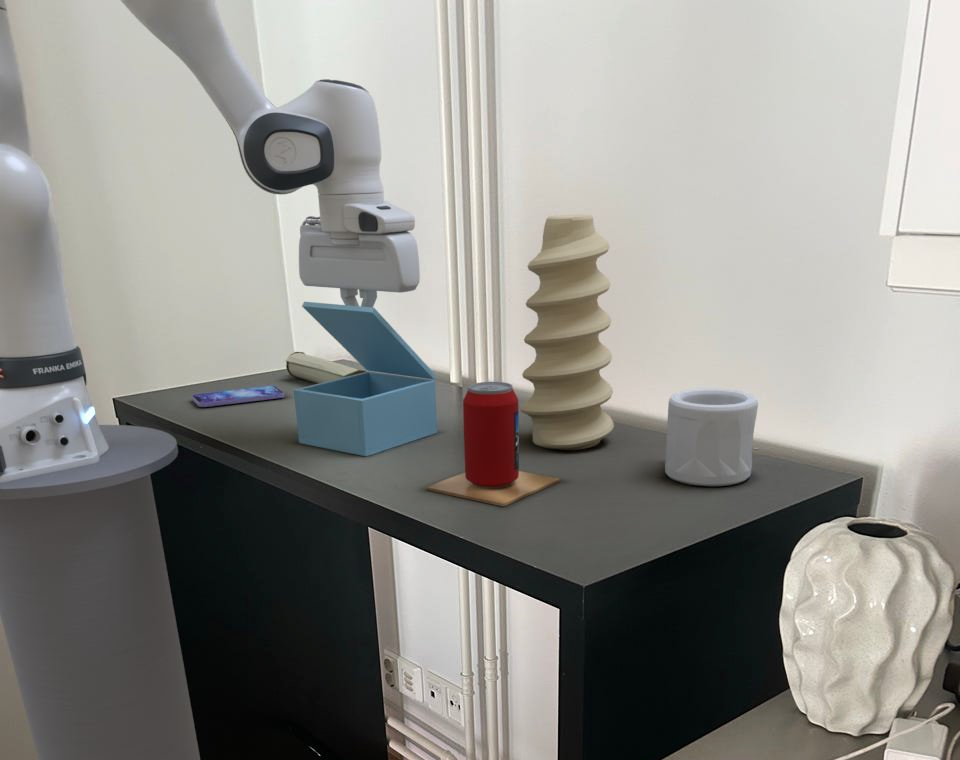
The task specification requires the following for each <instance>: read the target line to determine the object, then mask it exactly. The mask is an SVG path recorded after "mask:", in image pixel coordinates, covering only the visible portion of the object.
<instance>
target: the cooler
mask: <svg viewBox="0 0 960 760" xmlns="http://www.w3.org/2000/svg"><path fill="white" fill-rule="evenodd" d="M293 398H294V407H295V416H296V427H297V436H298V443H299V444H302V445H307V446H311V447H316V448H322V449H328V450H333V451H337V452H343V453H347V454H351V455H352V454H353V455H357V456H362V457H369V456H372V455H375V454H377V453H381V452H384V451H387V450H390V449H393V448H396V447H398V446H399V447H400V446H402V445H404V444H408V443H411V442H414V441H418V440H419V439H422V438H426V437H429V436H431V435H432V436H433V435H434V434H438V417H437V394H436V381H435V379H427V378H419V377H412V376H404V375H397V374H390V373H382V372H375V371H366V372H364V373H360V374H356V375H352V376H348V377H344V378H340V379H335V380H331V381H327V382H323V383H319V384H318V383H315V384H312V385H307V386H304V387H300V388H295V389H293Z"/></svg>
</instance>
